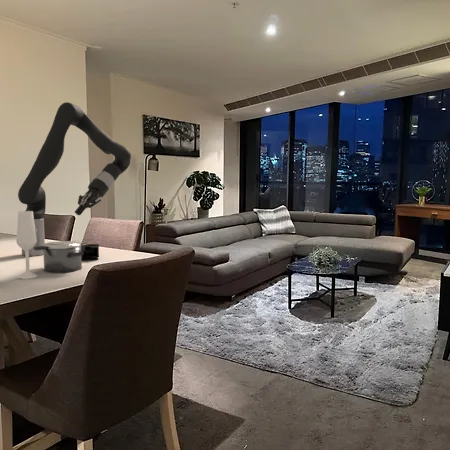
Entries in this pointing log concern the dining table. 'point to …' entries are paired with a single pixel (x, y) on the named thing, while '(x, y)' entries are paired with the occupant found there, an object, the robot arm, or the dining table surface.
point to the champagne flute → (26, 238)
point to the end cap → (90, 252)
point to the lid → (59, 245)
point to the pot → (63, 260)
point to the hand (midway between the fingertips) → (77, 213)
